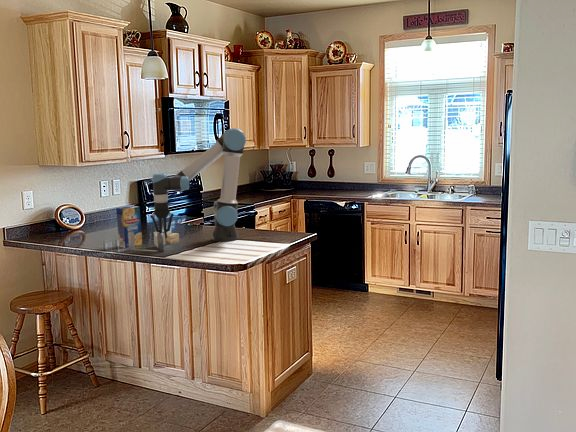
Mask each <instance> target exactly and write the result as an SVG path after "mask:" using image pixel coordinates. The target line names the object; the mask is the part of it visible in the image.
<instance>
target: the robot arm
mask: <svg viewBox="0 0 576 432" xmlns="http://www.w3.org/2000/svg"><path fill="white" fill-rule="evenodd" d="M246 142H247V138H246V135H245V133H244V131H243V130H241V129H240V128H236V127H235V128H233V127H232V128H229V129H226V131H224V133H223V134H222V135H220V137H219V138H217V140H215V143H214V144H213V145H212V146H211V147H209V148H208V149H206V151H204V152H203V153H202V154H200V155H199V156H198V157H197V158H195V159H194V160H193V161H191V162H190V163H189V164H188V165H186V166H185V167H184V168H183V169H182V170H180V171H179V172H178V173H177V174H175V175H173V176H168V175H167V174H166V173H155V174H153V175H152V189H153V203H154V205H153V207H154V211H153V213H152V214H150V215H149V217H150V218H151V220H152V222H153V226H154V228H155V232H158V233H163V244H164V246H165V245H166V244H165V238H167V233H169V232H170V230H171V226H172V221H173V217H174V216H175V214H174V213H172V212H170V211H171V210H170V209H169V202H168V201H169V195H168V194H169V193H168V192H170V191H187V190H189V189H190V181H191V180H193V179H194V178H195V177H196V176H197V175H199V174H200V173H201V172H203V171H205V169H207V168H208V167H209V166H210V165H212V164H213V163H214V162H215V161H217V160H218V159H219V158H221V157H222V156H224V157H223V158H224V159H223V161H224V162H223V170H222V178H221V179H222V180H221V188H220V197H219V198H218V199H217V200H215V201H213V210H214V211H213V212H214V213H213V214H214V229H213V233H212V240H213V241H214V242H232V240H233V241H236V240H238V239H239V234H238V231H237V229H236V226H235V225H236V223H237V221H238V218H239V214H238V205H239V202H238V200H237V199H236V198H237V191H238V180H239V171H240V162H241V157H242V156H243V155H244V151H245V145H246ZM156 218H157V219H158V224H157V222H156ZM167 218H168V222H167ZM162 224H163V225H162ZM162 226H163V227H162Z"/></svg>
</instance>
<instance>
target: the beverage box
mask: <svg viewBox="0 0 576 432" xmlns="http://www.w3.org/2000/svg"><path fill="white" fill-rule="evenodd" d="M140 208H141V207H140V206H137V205H128V206H123V207H116V208H115V209H116V210H115V211H116V221H117V224H116V225H117V235H118V247H120V248H125V249H127V248H128V249H129V240H128V232H134V238H135V247H137V246H142V245H143V235H142V234H143V233H142V222H141V221H142V220H141V209H140Z"/></svg>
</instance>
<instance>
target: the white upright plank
mask: <svg viewBox="0 0 576 432" xmlns="http://www.w3.org/2000/svg"><path fill="white" fill-rule="evenodd" d="M157 233H159V232H157V231H154V232H153V243H154V246H156V247H157V249H158V240H157Z"/></svg>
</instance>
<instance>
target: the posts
mask: <svg viewBox="0 0 576 432" xmlns="http://www.w3.org/2000/svg"><path fill="white" fill-rule="evenodd" d="M157 240H158V248H157V249H155V250H154V249H136V248H135V249H134V250H133V251H136V252H138V251H139V252H154V253H157V252H158V253H164V252H165V248H164V247H165V245H164V244H163V233H159V232H158V233H157Z"/></svg>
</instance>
